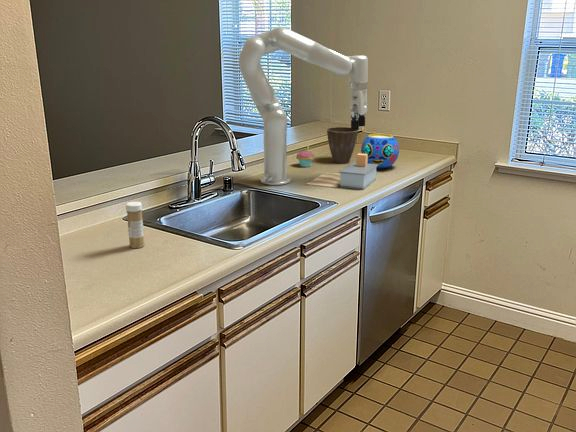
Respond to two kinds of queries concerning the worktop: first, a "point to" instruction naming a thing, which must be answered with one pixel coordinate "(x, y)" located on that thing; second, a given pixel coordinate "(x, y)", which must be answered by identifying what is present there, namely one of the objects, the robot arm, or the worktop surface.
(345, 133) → the plant pot
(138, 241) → the sprinkles bottle
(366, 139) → the ceramic pot
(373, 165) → the lid
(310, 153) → the cupcake
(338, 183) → the mat
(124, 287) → the worktop surface
